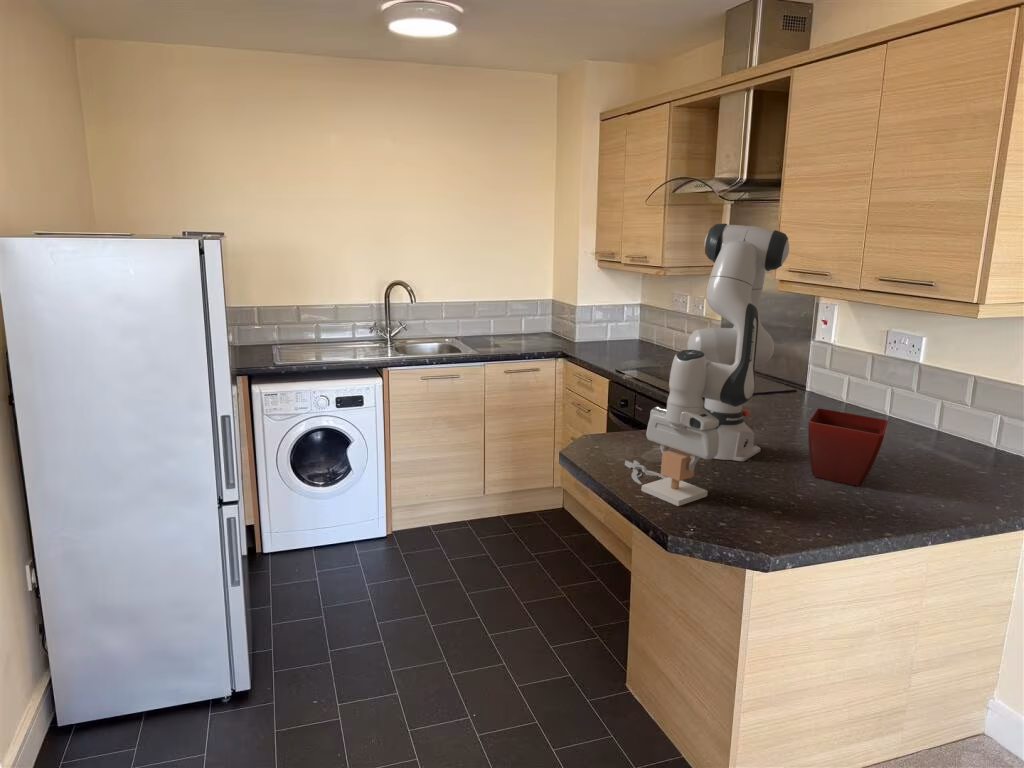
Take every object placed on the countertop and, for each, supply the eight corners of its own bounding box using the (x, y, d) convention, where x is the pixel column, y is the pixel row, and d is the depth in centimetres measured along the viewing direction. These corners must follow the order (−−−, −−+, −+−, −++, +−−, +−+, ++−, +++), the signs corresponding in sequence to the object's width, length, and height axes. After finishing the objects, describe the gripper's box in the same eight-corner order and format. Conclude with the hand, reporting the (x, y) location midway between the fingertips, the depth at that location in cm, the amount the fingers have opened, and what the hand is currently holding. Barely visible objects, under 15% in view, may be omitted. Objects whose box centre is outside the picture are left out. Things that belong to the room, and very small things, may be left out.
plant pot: (878, 474, 208) (888, 419, 204) (873, 494, 192) (884, 434, 188) (809, 460, 217) (817, 407, 213) (799, 478, 201) (807, 421, 197)
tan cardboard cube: (674, 469, 187) (677, 448, 186) (693, 476, 183) (696, 454, 182) (660, 474, 184) (662, 452, 182) (679, 481, 179) (681, 458, 178)
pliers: (639, 480, 190) (614, 461, 203) (639, 485, 190) (614, 466, 204) (672, 477, 193) (645, 459, 206) (671, 483, 193) (644, 464, 207)
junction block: (670, 481, 193) (672, 462, 192) (707, 496, 184) (709, 476, 183) (641, 490, 186) (643, 470, 184) (678, 506, 177) (680, 485, 175)
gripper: (643, 406, 185) (639, 456, 188) (709, 425, 170) (703, 479, 173) (659, 403, 189) (654, 452, 192) (725, 422, 174) (718, 475, 177)
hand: (678, 465), depth 183 cm, fingers closed on tan cardboard cube, 6 cm apart
